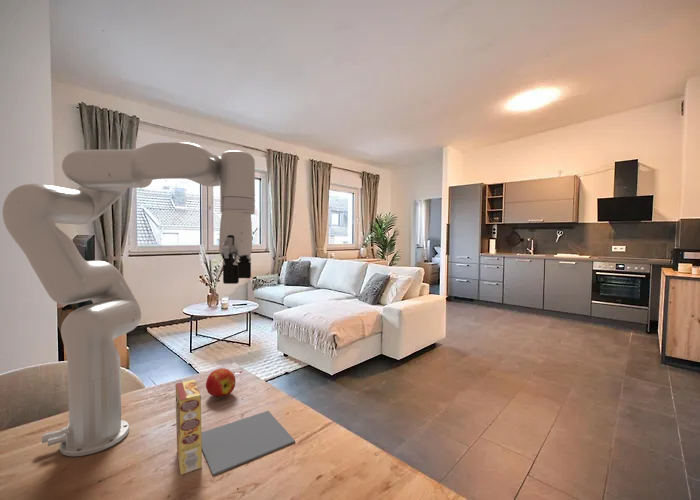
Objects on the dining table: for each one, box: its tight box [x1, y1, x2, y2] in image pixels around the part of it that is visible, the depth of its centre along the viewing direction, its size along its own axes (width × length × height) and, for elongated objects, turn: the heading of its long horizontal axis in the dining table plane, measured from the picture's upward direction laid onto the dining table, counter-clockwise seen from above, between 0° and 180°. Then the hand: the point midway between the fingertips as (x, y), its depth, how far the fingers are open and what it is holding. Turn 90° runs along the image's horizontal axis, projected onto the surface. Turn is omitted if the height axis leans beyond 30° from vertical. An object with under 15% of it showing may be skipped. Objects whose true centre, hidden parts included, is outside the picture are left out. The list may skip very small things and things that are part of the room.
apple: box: [205, 367, 237, 399], centre depth 96 cm, size 8×8×8 cm
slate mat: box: [201, 410, 296, 477], centre depth 75 cm, size 18×16×1 cm
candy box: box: [175, 379, 203, 476], centre depth 68 cm, size 9×4×15 cm, turn 33°
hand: (237, 280), depth 75 cm, fingers open, 9 cm apart
